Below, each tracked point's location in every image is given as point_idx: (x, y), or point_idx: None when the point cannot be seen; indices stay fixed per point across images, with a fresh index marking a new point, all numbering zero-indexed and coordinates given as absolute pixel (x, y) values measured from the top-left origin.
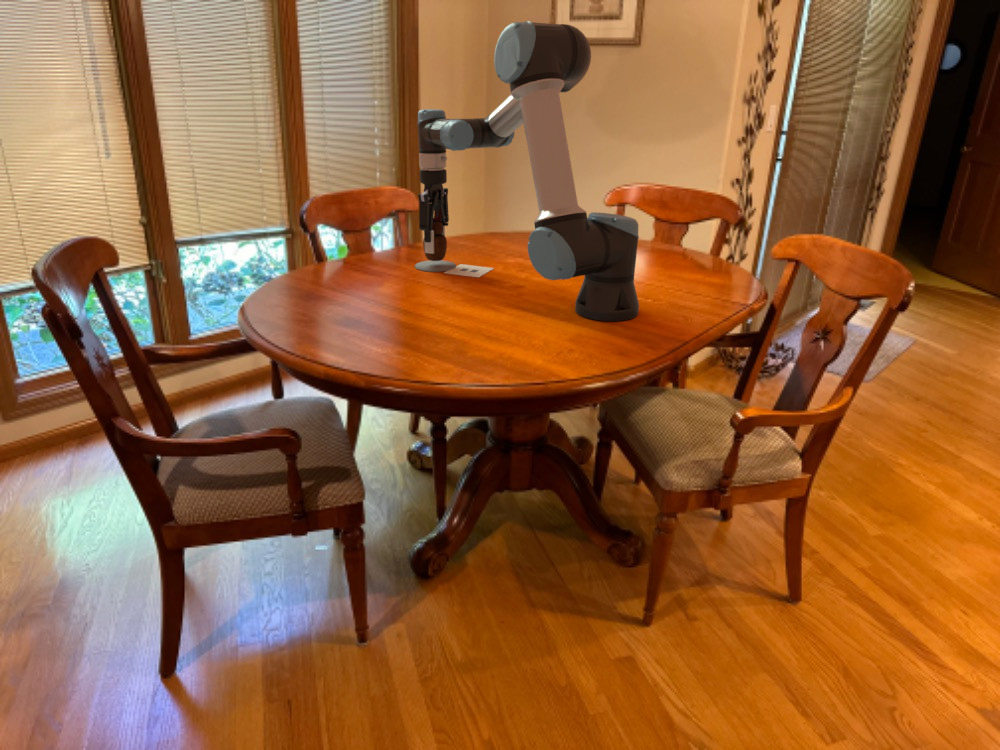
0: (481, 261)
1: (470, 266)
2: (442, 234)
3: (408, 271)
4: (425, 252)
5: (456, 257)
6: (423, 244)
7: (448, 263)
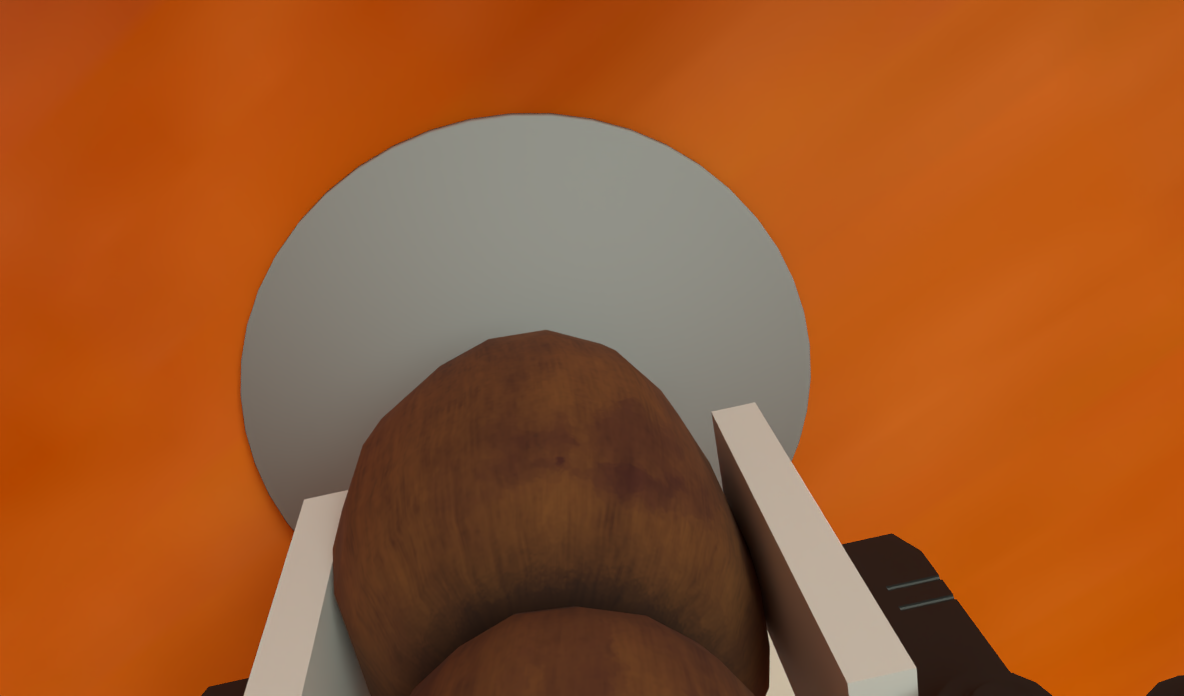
0: (1048, 629)
1: (770, 690)
2: (804, 692)
3: (82, 279)
4: (307, 514)
5: (1102, 297)
6: (360, 481)
7: (713, 468)
